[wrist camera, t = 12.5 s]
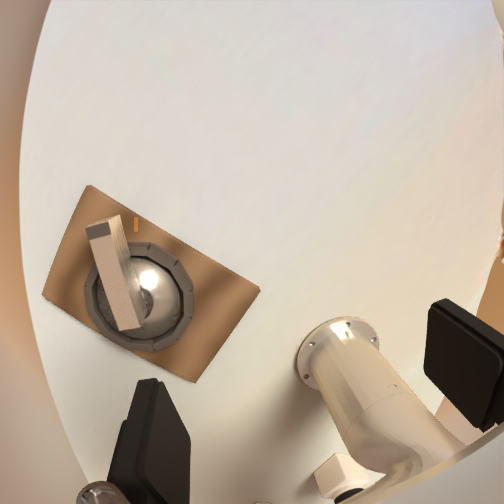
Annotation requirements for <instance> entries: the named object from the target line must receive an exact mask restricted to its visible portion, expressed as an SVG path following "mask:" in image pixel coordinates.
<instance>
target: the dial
mask: <svg viewBox="0 0 504 504" xmlns="http://www.w3.org/2000/svg"><path fill="white" fill-rule="evenodd" d="M85 230H86V234H87V237H88V240H89V241H90V244H91V248H92V251H93V255H94V258H95V261H96V265H97V268H98V271H99V274H100V277H101V279H100V282H99V285H98V290H97V298H98V304H99V307H100V310H101V312H102V314H103V316H104V317H105V319H106V320H107V321H108V323H109V324H110V325H111V326H112V327H114V328H115V329H116V330H117V331H119V332H121V333H122V334H124V335H127V336H129V337H133V338H138V339H148V338H154V337H157V336H159V335H161V334H163V333H165V332H166V331H167V330H169V329H170V328H171V327H172V325H173V324H174V322H175V321H176V319H177V316H178V313H179V309H180V304H181V292H180V288H179V285H178V282H177V281H176V279H175V277H174V276H173V274H172V273H171V271H170V270H169V269H168V268H166V267H164V266H163V265H161V264H159V263H158V262H156V261H154V260H153V259H151V258H149V257H147V256H137V255H130V252H129V248H128V245H127V241H126V237H125V233H124V230H123V226H122V222H121V218H120V215H116V216H113V217H109V218H105V219H102V220H99V221H97V222H95V223H93V224H90V225H88V226H86V228H85Z"/></svg>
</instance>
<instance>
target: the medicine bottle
mask: <svg viewBox="0 0 504 504" xmlns="http://www.w3.org/2000/svg"><path fill="white" fill-rule="evenodd" d="M314 476H315V479H316V481H317V484H318V487H319V490H320V493H321V496H322V498H330V499H333V500H334V502H335V504H338V503H340V502H342V501H344V500H346V499H348V498H350V497H352V496H353V495H355V494H357V493H359V492H361V491H363V490H364V488H363V487H364V486H365V485H366V484H368V483H369V482H370V479H369V477H368V475H367V473H366V471H365V469H364V467H362V466H361V465H359V464H358V463H357V462H355V461H354V459H353V458H352V457H351V456H347V455H341V454H334V455H333V456H332V457H331V458H330V459H329V460H328V461H327V462H325V463H324V464H323V465H322V466H321V467H320V468H319V469H317V470H316V471H315V472H314Z"/></svg>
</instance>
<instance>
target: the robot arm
mask: <svg viewBox="0 0 504 504" xmlns="http://www.w3.org/2000/svg"><path fill="white" fill-rule="evenodd" d="M423 368H424V372H425V375H426V376H427V377H428V378H429V379H430V380H431V381H432V382H433V383H434V384H435V385H436V386H437V387H438V389H439V390H440V391H441V392H442V393H443V394H444V395H445V396H446V397H447V398H448V399H449V400H450V401H451V402H452V403H453V405H454V406H455V407H456V408H457V409H458V410H459V411H460V412H461V413H462V414H463V415H464V416H465V418H466V419H467V420H468V421H469V422H470V423H471V424H472V425H473V426H474V427H475V428H479V429H480V430H481V431H482V432H483V433H484V432H485V431H487V430H488V429H490V428H491V427H492V426H494V424H495V422H496V423H497V424H498V426H497V427H496V428H494V429H493V430H491V431H490V432H489V433H487V434H486V435H484V436H483V437H481V438H480V439H478V440H477V441H475V442H474V443H472V444H471V445H469V446H467V445H465V444H464V443H463V442H462V441H460V440H459V439H458V438H457V437H455V436H454V435H453V434H452V433H451V432H450V431H448V430H447V429H446V428H445V427H444V426H443V425H442V424H441V423H440V422H439V421H438V420H437V419H436V417H435V416H434V415H433V414H432V413H431V412H430V411H429V410H428V408H427V407H426V406H425V405H424V404H423V402H422V401H421V400H420V399H419V398H418V397H417V395H416V394H415V393H414V392H413V391H412V389H411V388H410V387H409V386H408V385H407V383H406V382H405V381H404V380H403V379H402V378H401V376H400V375H399V374H398V373H397V372H396V371H395V369H394V368H393V367H392V366H391V365H390V364H389V362H388V361H387V360H386V359H385V358H384V357H383V355H382V354H381V353H380V352H379V339H378V336H377V333H376V331H375V330H374V329H373V327H372V326H371V325H370V324H369V323H367V322H366V321H364V320H362V319H359V318H356V317H340V318H337V319H333V320H330V321H328V322H326V323H324V324H322V325H321V326H319V327H318V328H316V329H315V330H314V331H313V332H312V333H311V334H310V335H309V336H308V337H307V338H306V340H305V341H304V342H303V344H302V346H301V348H300V350H299V353H298V357H297V369H298V372H299V375H300V377H301V379H302V380H303V382H304V383H305V384H306V385H307V386H309V387H310V388H312V389H315V390H317V391H320V393H321V395H322V397H323V400H324V402H325V404H326V406H327V408H328V410H329V412H330V414H331V417H332V419H333V421H334V423H335V425H336V427H337V429H338V431H339V433H340V436H341V438H342V440H343V442H344V444H345V446H346V448H347V450H348V452H349V454H350V455H351V457H352V458H353V459H354V461H355V462H357V463H358V464H359V465H361V466H362V467H364V468H366V469H369V470H372V471H375V472H379V473H383V474H387V475H385V476H384V477H383V478H381V479H380V480H378V481H377V482H375V484H373V485H371V486H370V487H368V488H366V489H364V490H363V491H361V492H359V493H357V494H355V495H353V496H352V497H350V498H348V499H346V500H344V501H342V502H340V503H338V504H504V335H503V334H501V333H500V332H498V331H497V330H495V329H494V328H492V327H491V326H489V325H487V324H486V323H485V322H483V321H482V320H480V319H479V318H477V317H475V316H474V315H472V314H471V313H469V312H468V311H466V310H465V309H463V308H461V307H460V306H458V305H457V304H455V303H454V302H452V301H450V300H449V299H447V298H445V299H442V300H439V301H437V302H434V303H433V304H432V305H431V308H430V309H429V311H428V322H427V336H426V348H425V357H424V367H423ZM190 453H191V441H190V437H189V434H188V432H187V430H186V428H185V426H184V424H183V422H182V420H181V418H180V416H179V414H178V412H177V410H176V408H175V406H174V404H173V402H172V400H171V398H170V396H169V393H168V391H167V389H166V387H165V385H164V383H163V382H162V381H160V382H158V380H157V379H156V378H151V379H144V380H139V381H138V383H137V386H136V389H135V393H134V396H133V400H132V403H131V406H130V410H129V413H128V417H127V420H124V421H123V423H122V425H121V428H120V432H119V435H118V439H117V443H116V446H115V450H114V454H113V458H112V461H111V465H110V469H109V473H108V477H107V481H97V482H93V483H90V484H88V485H87V486H85V487H84V488H83V489H82V490H81V491H80V492H79V494H78V496H77V500H76V504H190Z"/></svg>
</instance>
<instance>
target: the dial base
mask: <svg viewBox="0 0 504 504" xmlns="http://www.w3.org/2000/svg"><path fill="white" fill-rule="evenodd" d="M116 215H120V218H121V222H122V226H123V230H124V233H125V237H126V241H127V245H128V248H129V252H130V255H137V256H147V257H149V258H151V259H153V260H154V261H156V262H158V263H159V264H161V265H163V266H164V267H166V268H168V269H169V270H170V271H171V273H172V274H173V276H174V277H175V279H176V281H177V282H178V285H179V288H180V292H181V304H180V309H179V313H178V316H177V319H176V321H175V322H174V324H173V325H172V327H171V328H170V329H169V330H167V331H166V332H165V333H163V334H161V335H159V336H157V337H154V338H148V339H138V338H133V337H129V336H127V335H124V334H122V333H121V332H119V331H117V330H116V329H115V328H114V327H112V326H111V325H110V324H109V323H108V321H107V320H106V319H105V317H104V316H103V314H102V312H101V310H100V307H99V304H98V298H97V290H98V285H99V282H100V279H101V277H100V274H99V271H98V268H97V265H96V261H95V258H94V255H93V251H92V248H91V244H90V241H89V240H88V237H87V234H86V230H85V228H86V226H88V225H90V224H93V223H95V222H97V221H99V220H102V219H105V218H109V217H113V216H116ZM259 293H260V288H259V286H257V285H255V284H253V283H252V282H250V281H248V280H247V279H245V278H243V277H241V276H240V275H238V274H236V273H235V272H233V271H231V270H229V269H228V268H226V267H224V266H223V265H221V264H219V263H218V262H216V261H214V260H213V259H211V258H209V257H207V256H206V255H204V254H202V253H201V252H199V251H197V250H196V249H194V248H192V247H191V246H189V245H187V244H186V243H184V242H182V241H181V240H179V239H177V238H176V237H174V236H172V235H171V234H169V233H167V232H166V231H164V230H163V229H161V228H159V227H158V226H156V225H154V224H153V223H151V222H149V221H148V220H146V219H145V218H143V217H141V216H140V215H138V214H136V213H135V212H133V211H132V210H130V209H128V208H127V207H125V206H124V205H122V204H120V203H119V202H117V201H115V200H114V199H112V198H111V197H109V196H108V195H106V194H104V193H103V192H101V191H100V190H98V189H96V188H95V187H93V186H92V185H89V186H86V188H85V190H84V192H83V194H82V196H81V198H80V200H79V202H78V204H77V206H76V209H75V211H74V213H73V215H72V217H71V220H70V222H69V224H68V226H67V229H66V231H65V234H64V236H63V238H62V241H61V243H60V246H59V248H58V251H57V253H56V256H55V258H54V261H53V264H52V266H51V269H50V272H49V275H48V278H47V280H46V283H45V286H44V289H43V292H42V296H44V297H45V298H47V299H48V300H49V301H51V302H52V303H54V304H55V305H57V306H58V307H60V308H61V309H63V310H64V311H66V312H67V313H69V314H70V315H72V316H73V317H75V318H76V319H78V320H79V321H81V322H83V323H84V324H86V325H87V326H89V327H91V328H92V329H94V330H95V331H97V332H99V333H100V334H102V335H104V336H105V337H106V338H108V339H110V340H111V341H113V342H115V343H117V344H118V345H120V346H122V347H124V348H125V349H128V350H130V351H132V352H134V353H135V354H137V355H139V356H141V357H143V358H145V359H147V360H149V361H151V362H152V363H154V364H156V365H158V366H160V367H162V368H164V369H166V370H168V371H170V372H172V373H174V374H176V375H179V376H181V377H183V378H185V379H187V380H189V381H191V382H193V383H196V382H197V380H198V379H199V377H200V376H201V375H202V373H203V372H204V370H205V369H206V368H207V366H208V365H209V364H210V362H211V361H212V359H213V358H214V357H215V355H216V354H217V352H218V351H219V350H220V348H221V347H222V345H223V344H224V343H225V341H226V340H227V338H228V337H229V336H230V334H231V333H232V331H233V330H234V329H235V327H236V326H237V324H238V323H239V321H240V320H241V319H242V317H243V316H244V314H245V313H246V311H247V310H248V309H249V307H250V306H251V304H252V303H253V301H254V300H255V298H256V297H257V296H258V294H259Z"/></svg>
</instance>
